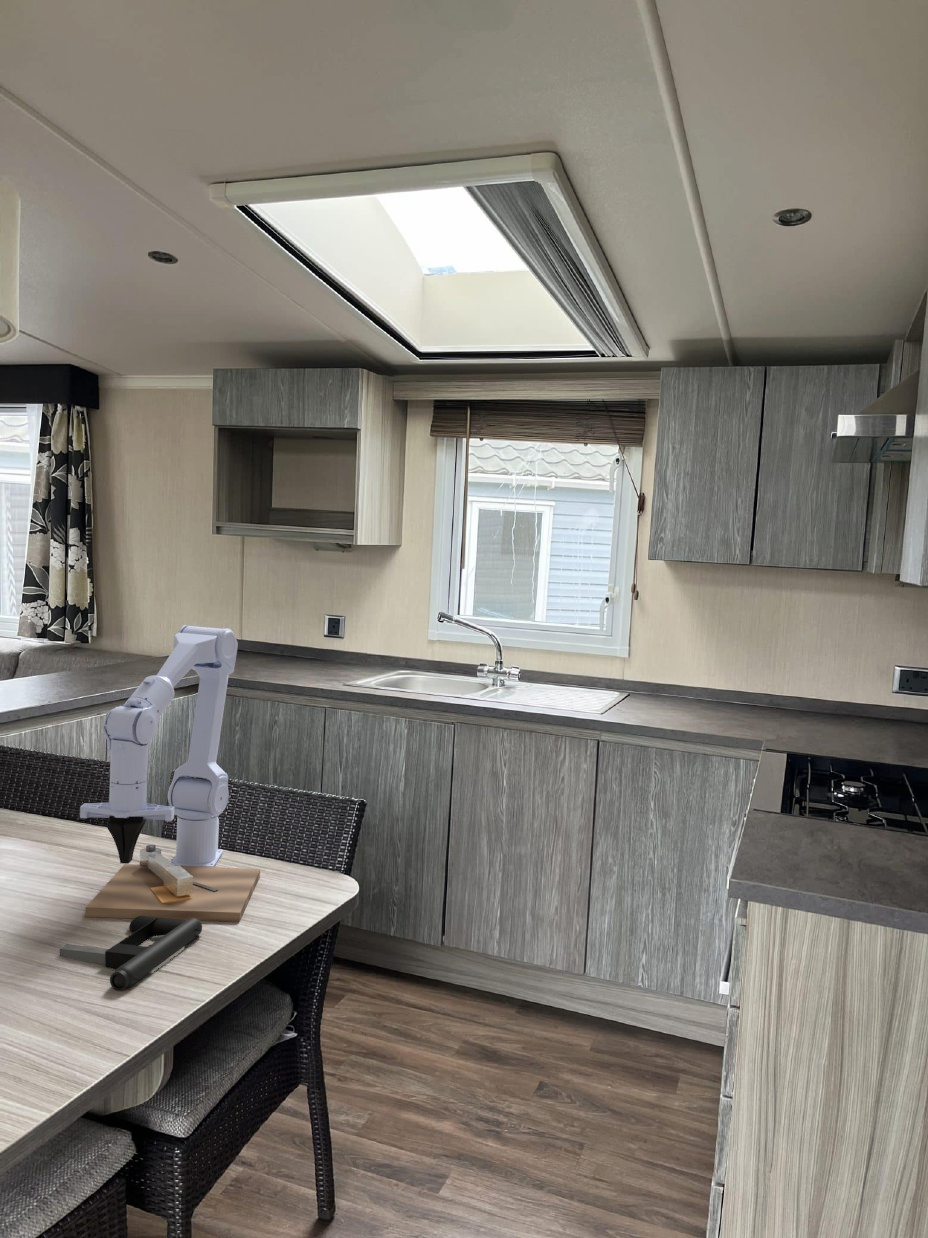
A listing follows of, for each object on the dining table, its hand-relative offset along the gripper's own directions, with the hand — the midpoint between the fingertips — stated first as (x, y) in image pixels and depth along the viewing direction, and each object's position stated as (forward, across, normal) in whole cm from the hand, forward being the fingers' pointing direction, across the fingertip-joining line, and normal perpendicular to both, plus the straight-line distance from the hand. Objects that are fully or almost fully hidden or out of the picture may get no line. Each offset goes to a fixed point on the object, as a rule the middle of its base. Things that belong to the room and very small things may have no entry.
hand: (126, 861), depth 150 cm
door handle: (+8, +6, -19) cm, 21 cm away
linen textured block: (+5, +5, +6) cm, 9 cm away
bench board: (+7, +8, +4) cm, 11 cm away
